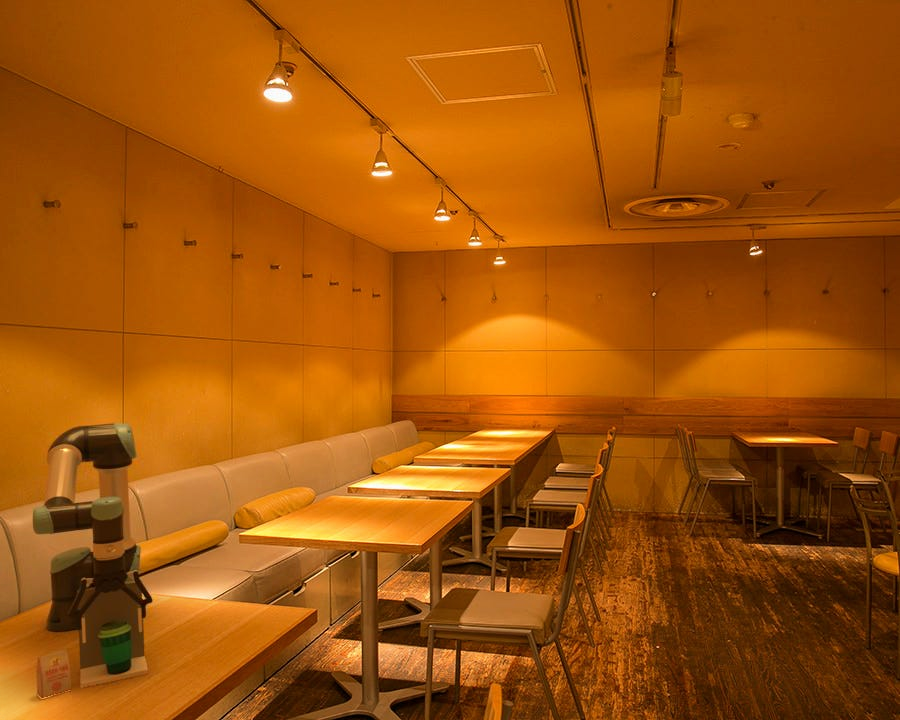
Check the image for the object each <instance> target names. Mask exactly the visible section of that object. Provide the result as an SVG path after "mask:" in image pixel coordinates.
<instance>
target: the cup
mask: <svg viewBox="0 0 900 720" xmlns="http://www.w3.org/2000/svg"><path fill="white" fill-rule="evenodd" d="M130 630H131V626H130V625H128V623H127V622H126V621H113V622H109V623H106V624H104V625H102V626H101V630H100V633H99V634H98V637H99V639H100V643H101V649H102V653H103V657H104V661H105V664H106V667H107V671H108V673H109V674H111V675H116V674H121V673H124V672H127V671H128V670H130V668H131V657H132V651H131V635H130Z"/></svg>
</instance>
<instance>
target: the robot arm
mask: <svg viewBox="0 0 900 720" xmlns="http://www.w3.org/2000/svg"><path fill="white" fill-rule="evenodd" d="M46 454H47V456H46V462H47V465H48V466H49V467H48V474H47V479H46V486H45V494H44V500H43V505H41V506H37V507H35V508H34V509H33V511H32V529H33V532H34V534H36V535H53V534H60V533H67V532H75V531H76V532H77V531H84V530H85V531H86V530H92V549H93V550H92V551H91V548H90V547H89V546H87V547H86V546H85V547H83V546H81V547H77V548H72V549H69V550H66V551H62V552H59V553H58V554H56V555H55V556H53V557H52V558H51V560H50V571H49V573H50V582H51V583H50V584H51V586H50V587H51V605H50V608H49V612H48V615H47V619H46V629H47V630H49V631H52V632H66V631H74V630H77V631H79V630H82V640H83V643H86V634H85V615H83V614H84V613H85V611H86V610H87V609H88V608H89V606H90V605H91V604H92V602H93V601H94V600H95V599H96V597H97V596H98V595H99V594H100V593H101V592H103V593H108V592H111V591H113V592H115V591H117V590H119V589H121V590H123V591H124V592H125V593H127V594H128V595H129V596H130V597H131V598H132V599H133V600H135V601H136V602H137V603H138V604H139V605H137V607H138V629H139V632H142V618H143V619H146V617H147V605H148V604H152V603H153V598H152V595H151V594H150V592H149V591H148V589H147V588H146V586H145V585H144V583H143V581H142V580H141V578H140V576H139V574H140V573H139V572H140V564H141V554H142V553H141V551H142V550H141V545H138V544H136V543H137V541H136V540H135V539H134V538H133V537H131V519H130V517H131V516H130V498H129V497H130V496H129V473H128V469H129V468H130V467H131V466H132V465H133V460H134V459H135V458H137V455H138V453H137V449H136V442H135V437H134V433H133V429H132V426H131V425H130V424H129V423H116V422H114V423H103V424H94V425H93V424H92V425H79V426H74V427H72V428H70V429H67V430H66V431H64V432H63V433H61V434H60V435H58V437H56V438H55V439H54V441H53V442H52V443H51V445H50V446H49V448H48V451H47V453H46ZM81 463H92V468H93V469H94V470H96V471H97V472H98V486H99V498H97V499H94V500H92V501H91V500H90V501H83V502H82V501H81V502H80V501H79V502H75V501H76V500H75V499H76V487H77V478H78V477H77V475H78V467H79V466H80V464H81ZM132 581H135V583H136V584H137V586H138V587H139V589H140V590H141V592H142V596H144V599H143V597H142V598H141V597H140V596H139V595H138V594H136V593H135V592H134V591H133V590H132V589H131V588H130V587H128V586H127V584H125V583H126V582H132ZM95 587H96V588H95ZM89 588H95V589H94V591H93V592H92V594H91V595H90V596H89V597H88V599H87V600H86V601H85V603H84V604H83V605H82V606H81V608H80V609H79V610H78V605H79V603H80V601H81V599H82V597H83V594H84V592H85V590H86V589H89ZM77 590H79V591H78V593H77Z"/></svg>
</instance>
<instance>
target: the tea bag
mask: <svg viewBox="0 0 900 720" xmlns="http://www.w3.org/2000/svg"><path fill="white" fill-rule="evenodd" d="M36 663H37V664H36V671H35V674H36V693H37V694H38V695H39V696H40V697H41V698H44V697H48V696H51V695H54V694H58V693H62V692H65V691H68V690H72V688H71V687H72V686H71V668H70V667H71V666H70V661H69V654H68V649H64V650H60V651H55V652H53V653H50V654H46V655H42V656H39V657H37V661H36ZM68 692H69V691H68ZM65 693H66V692H65ZM37 694H36V695H37ZM62 694H63V693H62ZM58 695H59V694H58Z"/></svg>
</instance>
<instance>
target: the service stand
mask: <svg viewBox="0 0 900 720" xmlns="http://www.w3.org/2000/svg"><path fill="white" fill-rule="evenodd" d="M125 584H127V586H128V587H130V588H131V589H132V590H133V591H134V592H135V593H136V594H138V595H139V596H140V597H141V598H142V599H143V594H142V592H141V590H140V589H139V587H138V586H137V584H136V583H135V581H132V582H126V583H125ZM95 588H96V587H95ZM95 588H89V589H86V590H85V592H84V594H83V597H82V599H81V601H80V603H79V605H78V610H79V609H80V608H81V606H82V605H83V604H84V603H85V601H86V600H87V599H88V597H89V596H90V595H91V594H92V592H93V591H94V589H95ZM78 591H79V590H77V593H78ZM137 605H139V604H138V603H137V602H136V601H135V600H133V599H132V598H131V597H130V596H129V595H128V594H127V593H125V592H124V591H123V590H121V589H119V590H117V591H115V592H113V591H111V592H108V593H103V592H101V593H100V594H99V595H98V596H97V597H96V599H95V600H94V601H93V602H92V604H91V605H90V606H89V608H88V609H87V610H86V611H85V613H84V614H83V615H85V634H86V643H83V640H82V630H78V643H79V645H78V647H79V666H80V670H79V671H80V689H84V687H85V688H88V687H87V686H90V687H92V686H91V685H94V686H97V685H96V684H99V685H102V684H101V683H104V684H108V683H112V682H111V681H113V682H117V681H122V680H127V679H130V677H131V678H136V677H139V676H143V675H144V676H145V675H148V674H149V669H148V664H147V660H146V655H145V635H144V634H145V631H144V618H142V632H139V629H138V607H137ZM113 621H126V622H127V623H128V625H130V626H131V630H130V635H131V651H132V657H131V668H130V670H128V671H127V672H124V673H121V674H116V675H111V674H109V673H108V671H107V667H106V664H105V661H104V657H103V653H102V649H101V643H100V639H99V637H98V634H99V633H100V630H101V626H102V625H104V624H106V623H109V622H113ZM126 678H127V679H126ZM121 679H122V680H121ZM116 680H117V681H116ZM107 682H108V683H107Z"/></svg>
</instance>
